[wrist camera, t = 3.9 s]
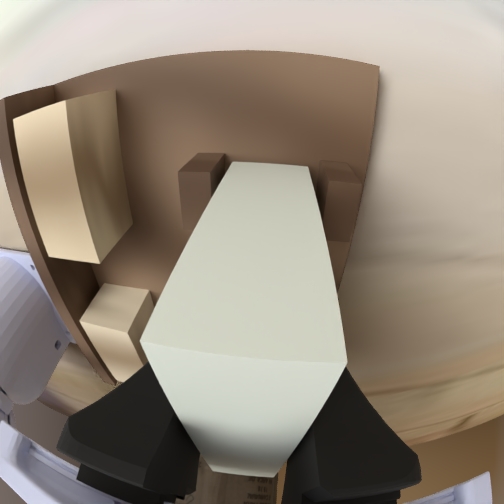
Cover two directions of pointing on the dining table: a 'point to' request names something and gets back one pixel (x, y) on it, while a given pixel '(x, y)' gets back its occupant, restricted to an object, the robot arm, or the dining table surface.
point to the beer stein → (230, 488)
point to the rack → (203, 156)
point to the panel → (250, 321)
